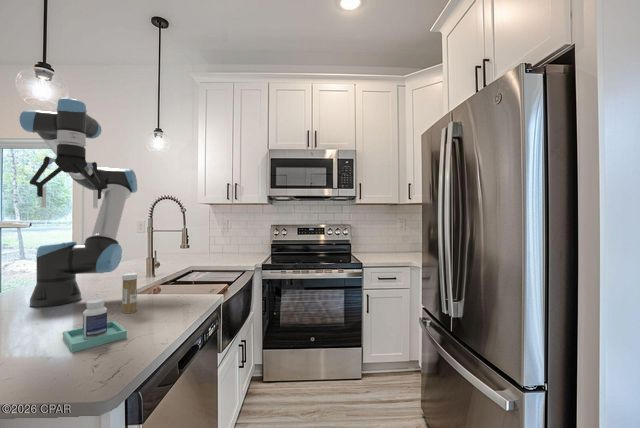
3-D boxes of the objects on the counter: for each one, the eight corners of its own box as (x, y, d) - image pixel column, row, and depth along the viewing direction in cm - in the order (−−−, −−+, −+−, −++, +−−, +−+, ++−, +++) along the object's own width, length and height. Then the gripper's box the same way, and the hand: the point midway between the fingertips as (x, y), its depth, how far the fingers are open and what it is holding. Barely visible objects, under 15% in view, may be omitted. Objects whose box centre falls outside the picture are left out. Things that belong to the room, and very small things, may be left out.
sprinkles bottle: (137, 312, 105) (137, 274, 105) (121, 314, 102) (122, 275, 102) (136, 308, 109) (137, 272, 109) (121, 310, 106) (122, 273, 106)
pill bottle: (111, 333, 84) (112, 299, 84) (91, 341, 79) (92, 304, 79) (98, 331, 86) (98, 297, 86) (78, 338, 81) (78, 302, 81)
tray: (62, 339, 82) (62, 331, 82) (113, 326, 91) (114, 320, 91) (71, 352, 74) (71, 344, 74) (126, 337, 83) (126, 330, 83)
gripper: (20, 136, 89) (19, 206, 89) (117, 150, 108) (117, 208, 108) (18, 140, 94) (17, 207, 94) (111, 153, 113) (111, 208, 113)
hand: (70, 208), depth 101 cm, fingers open, 13 cm apart
